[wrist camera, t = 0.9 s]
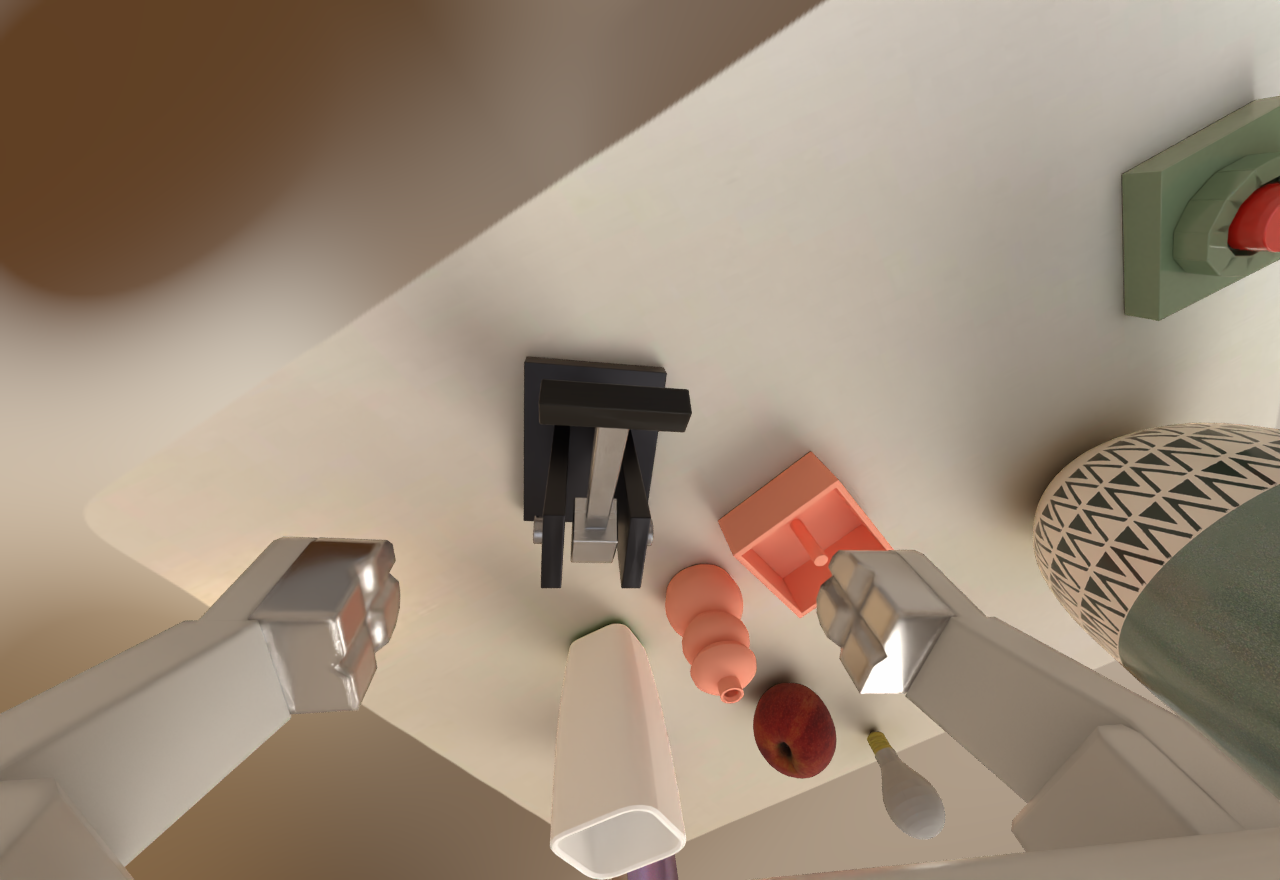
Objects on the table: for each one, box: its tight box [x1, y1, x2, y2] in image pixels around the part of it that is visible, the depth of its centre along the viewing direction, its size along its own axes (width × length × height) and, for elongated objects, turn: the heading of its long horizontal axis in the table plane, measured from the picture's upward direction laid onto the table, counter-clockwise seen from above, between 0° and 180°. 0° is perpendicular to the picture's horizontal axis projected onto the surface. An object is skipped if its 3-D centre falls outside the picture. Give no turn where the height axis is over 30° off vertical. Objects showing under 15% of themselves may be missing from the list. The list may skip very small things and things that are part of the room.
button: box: [1227, 182, 1280, 252], centre depth 26 cm, size 4×4×2 cm
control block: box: [1122, 96, 1280, 321], centre depth 28 cm, size 10×8×4 cm
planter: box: [1033, 423, 1280, 800], centre depth 30 cm, size 20×20×21 cm
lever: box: [539, 379, 692, 563], centre depth 20 cm, size 12×5×2 cm, turn 174°
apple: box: [753, 683, 836, 778], centre depth 44 cm, size 7×8×8 cm
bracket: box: [524, 357, 667, 588], centre depth 27 cm, size 12×9×12 cm
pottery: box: [665, 451, 894, 703], centre depth 34 cm, size 18×10×10 cm, turn 131°
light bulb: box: [867, 731, 945, 839], centre depth 49 cm, size 5×6×10 cm
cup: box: [550, 624, 686, 879], centre depth 35 cm, size 7×7×15 cm
